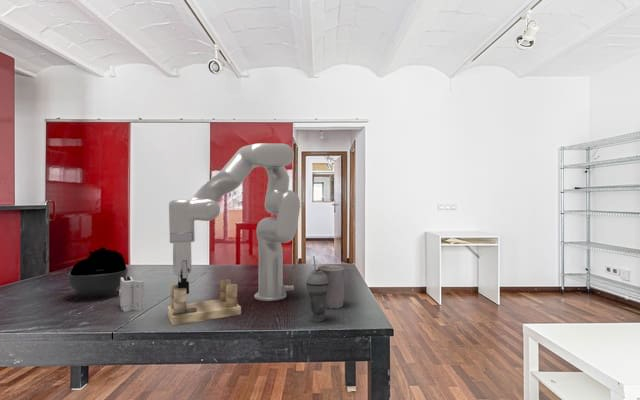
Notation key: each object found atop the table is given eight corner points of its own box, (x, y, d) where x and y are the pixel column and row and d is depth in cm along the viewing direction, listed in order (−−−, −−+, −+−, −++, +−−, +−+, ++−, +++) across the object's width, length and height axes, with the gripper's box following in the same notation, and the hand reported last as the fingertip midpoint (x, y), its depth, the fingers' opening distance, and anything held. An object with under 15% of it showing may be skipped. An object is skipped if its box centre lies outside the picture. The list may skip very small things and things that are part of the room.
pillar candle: (311, 305, 120) (312, 264, 120) (329, 299, 127) (329, 260, 127) (331, 311, 113) (332, 267, 114) (349, 305, 121) (349, 264, 121)
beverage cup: (326, 324, 100) (326, 258, 101) (303, 322, 102) (303, 257, 102) (330, 316, 108) (330, 255, 108) (308, 315, 109) (308, 254, 110)
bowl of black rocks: (106, 303, 122) (107, 252, 122) (53, 303, 122) (54, 252, 123) (137, 290, 142) (138, 246, 142) (91, 289, 142) (92, 246, 143)
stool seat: (230, 304, 121) (230, 278, 121) (240, 314, 110) (241, 285, 110) (167, 313, 110) (167, 285, 110) (172, 325, 99) (172, 293, 99)
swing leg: (197, 309, 106) (197, 286, 107) (196, 312, 103) (196, 289, 103) (174, 310, 104) (174, 288, 105) (172, 314, 101) (173, 291, 101)
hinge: (143, 310, 114) (144, 281, 114) (126, 314, 110) (126, 284, 110) (129, 302, 123) (130, 275, 123) (113, 305, 119) (113, 277, 119)
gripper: (168, 236, 112) (169, 290, 112) (171, 240, 99) (172, 302, 99) (191, 234, 116) (193, 287, 116) (197, 238, 102) (199, 298, 102)
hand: (183, 293), depth 107 cm, fingers closed
